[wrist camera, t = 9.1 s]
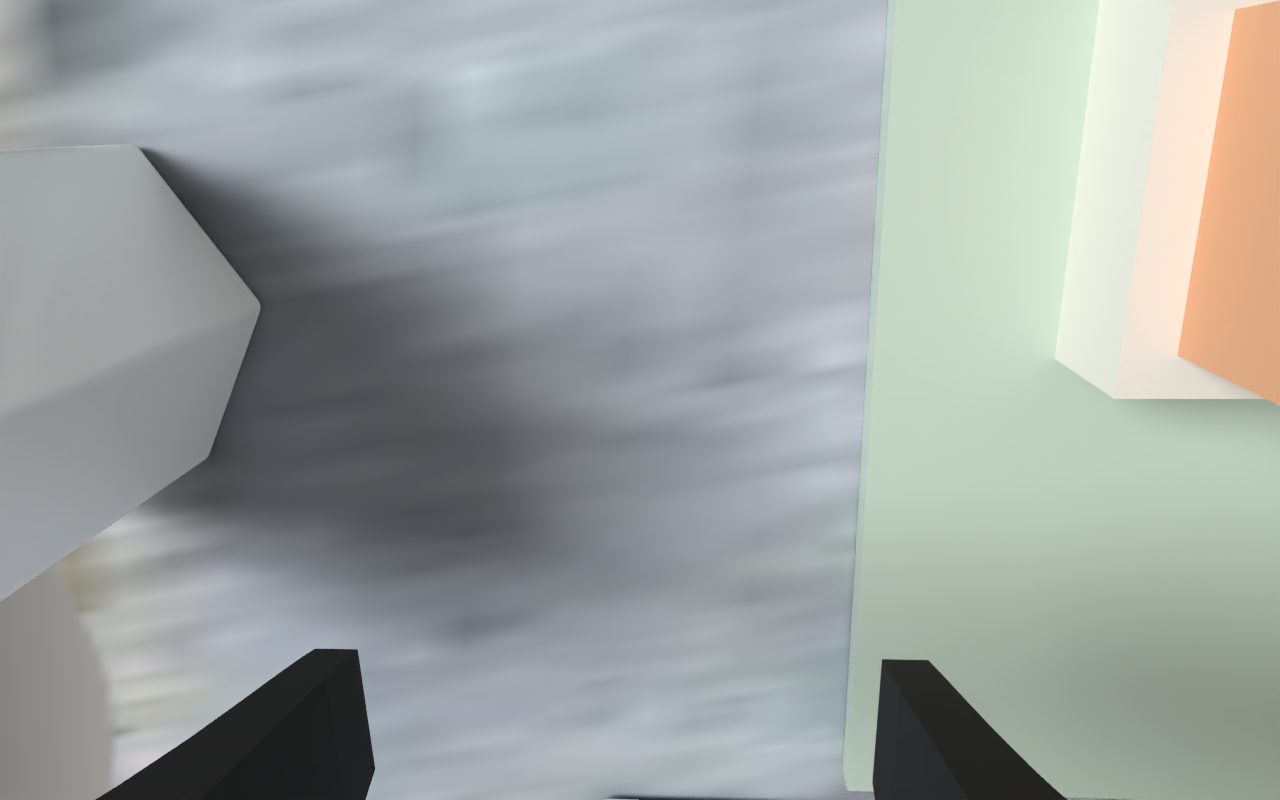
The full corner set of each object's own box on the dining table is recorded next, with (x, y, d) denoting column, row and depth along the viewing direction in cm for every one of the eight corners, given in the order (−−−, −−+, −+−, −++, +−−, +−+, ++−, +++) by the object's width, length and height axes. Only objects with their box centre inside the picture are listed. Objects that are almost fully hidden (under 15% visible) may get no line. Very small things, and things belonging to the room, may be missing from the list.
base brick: (1335, 358, 19) (1444, 398, 17) (1054, 358, 20) (1114, 398, 17) (1425, -44, 17) (1571, -77, 14) (1103, -34, 17) (1181, -63, 15)
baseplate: (1455, 787, 23) (1480, 810, 23) (842, 770, 25) (847, 791, 24) (1752, -165, 17) (1802, -178, 16) (896, -130, 18) (904, -141, 17)
